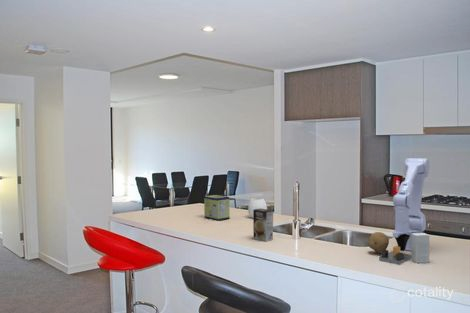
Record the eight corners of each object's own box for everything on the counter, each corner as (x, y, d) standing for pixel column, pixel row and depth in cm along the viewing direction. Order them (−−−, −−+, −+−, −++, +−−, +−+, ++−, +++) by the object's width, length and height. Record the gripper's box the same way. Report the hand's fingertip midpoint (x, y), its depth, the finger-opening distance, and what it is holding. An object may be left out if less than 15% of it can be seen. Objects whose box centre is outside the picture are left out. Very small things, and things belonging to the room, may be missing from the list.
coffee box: (252, 239, 218) (252, 209, 217) (260, 237, 223) (260, 208, 222) (266, 241, 212) (266, 211, 211) (273, 239, 216) (273, 209, 216)
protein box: (215, 216, 289) (215, 194, 288) (230, 219, 277) (229, 196, 277) (203, 218, 282) (203, 196, 281) (218, 221, 270) (218, 198, 270)
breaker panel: (392, 254, 185) (392, 246, 185) (411, 258, 179) (412, 249, 179) (379, 260, 176) (379, 251, 176) (399, 264, 170) (399, 255, 170)
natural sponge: (374, 256, 182) (374, 234, 182) (364, 251, 191) (364, 230, 191) (392, 255, 184) (392, 233, 184) (381, 250, 193) (381, 229, 193)
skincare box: (424, 260, 176) (424, 232, 176) (429, 262, 172) (429, 235, 172) (410, 260, 176) (411, 233, 176) (415, 263, 172) (415, 235, 172)
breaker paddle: (395, 253, 180) (395, 246, 180) (400, 254, 179) (400, 246, 179) (392, 255, 178) (392, 247, 178) (397, 255, 177) (397, 248, 176)
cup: (249, 216, 288) (249, 197, 288) (267, 216, 286) (267, 197, 286) (247, 219, 275) (247, 199, 275) (266, 219, 273) (266, 200, 273)
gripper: (404, 224, 174) (404, 255, 174) (417, 219, 184) (417, 249, 184) (388, 222, 179) (388, 252, 179) (402, 217, 189) (402, 246, 189)
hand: (401, 250), depth 182 cm, fingers closed
